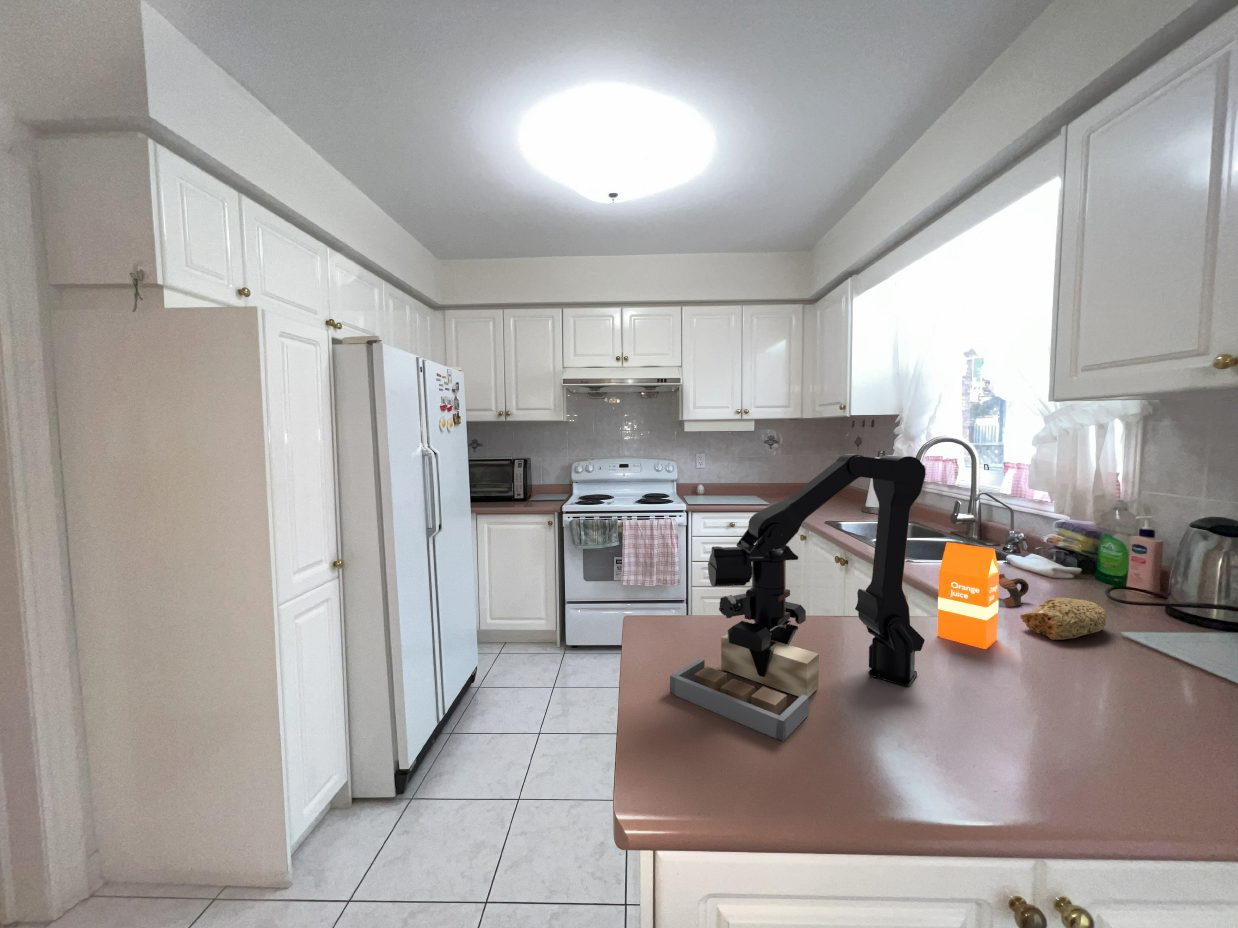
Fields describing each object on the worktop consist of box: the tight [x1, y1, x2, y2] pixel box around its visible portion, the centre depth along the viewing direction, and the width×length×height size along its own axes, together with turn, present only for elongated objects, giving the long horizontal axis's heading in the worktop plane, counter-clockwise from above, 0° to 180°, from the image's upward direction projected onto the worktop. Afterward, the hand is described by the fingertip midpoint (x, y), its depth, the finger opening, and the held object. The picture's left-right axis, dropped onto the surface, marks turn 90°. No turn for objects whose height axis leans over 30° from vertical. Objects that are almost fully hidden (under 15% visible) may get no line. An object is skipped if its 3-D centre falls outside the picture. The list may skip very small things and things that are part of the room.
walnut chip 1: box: [694, 666, 728, 692], centre depth 85 cm, size 4×4×3 cm
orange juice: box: [937, 541, 1000, 650], centre depth 106 cm, size 8×9×20 cm
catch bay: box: [669, 658, 810, 742], centre depth 80 cm, size 20×9×3 cm, turn 47°
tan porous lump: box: [1019, 596, 1108, 641], centre depth 110 cm, size 13×8×20 cm
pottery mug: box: [999, 573, 1030, 608], centre depth 130 cm, size 12×10×8 cm
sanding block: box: [720, 633, 820, 698], centre depth 88 cm, size 16×5×6 cm, turn 47°
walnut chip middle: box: [720, 678, 756, 704], centre depth 80 cm, size 4×4×3 cm
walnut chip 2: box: [751, 686, 788, 716], centre depth 78 cm, size 4×4×3 cm
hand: (768, 670), depth 88 cm, fingers closed on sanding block, 5 cm apart
